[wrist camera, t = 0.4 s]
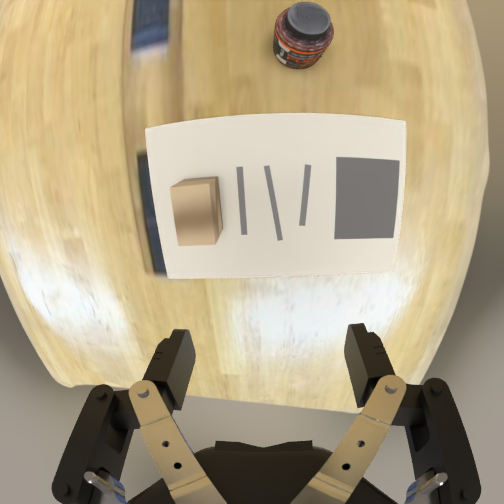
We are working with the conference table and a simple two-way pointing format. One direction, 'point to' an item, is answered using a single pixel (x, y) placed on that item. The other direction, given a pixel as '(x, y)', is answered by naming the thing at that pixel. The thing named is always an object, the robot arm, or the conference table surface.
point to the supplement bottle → (302, 35)
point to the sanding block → (197, 211)
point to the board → (285, 193)
